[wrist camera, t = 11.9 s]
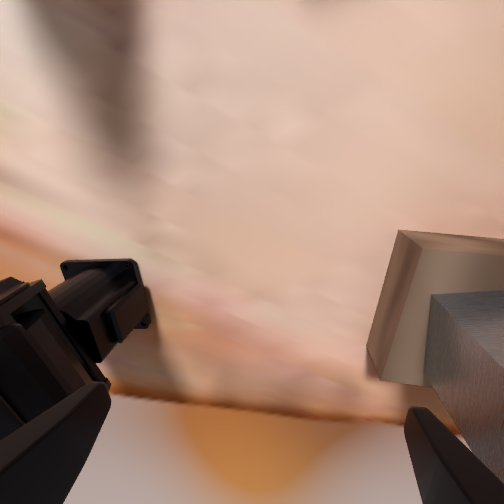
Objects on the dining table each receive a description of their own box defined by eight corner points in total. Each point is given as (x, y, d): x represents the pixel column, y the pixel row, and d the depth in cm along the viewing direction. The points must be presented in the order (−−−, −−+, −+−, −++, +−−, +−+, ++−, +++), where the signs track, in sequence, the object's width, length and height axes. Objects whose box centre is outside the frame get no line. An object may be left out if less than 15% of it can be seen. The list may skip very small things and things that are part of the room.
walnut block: (365, 342, 23) (380, 380, 19) (396, 228, 19) (422, 248, 15) (491, 357, 22) (533, 401, 18) (551, 241, 18) (619, 266, 14)
